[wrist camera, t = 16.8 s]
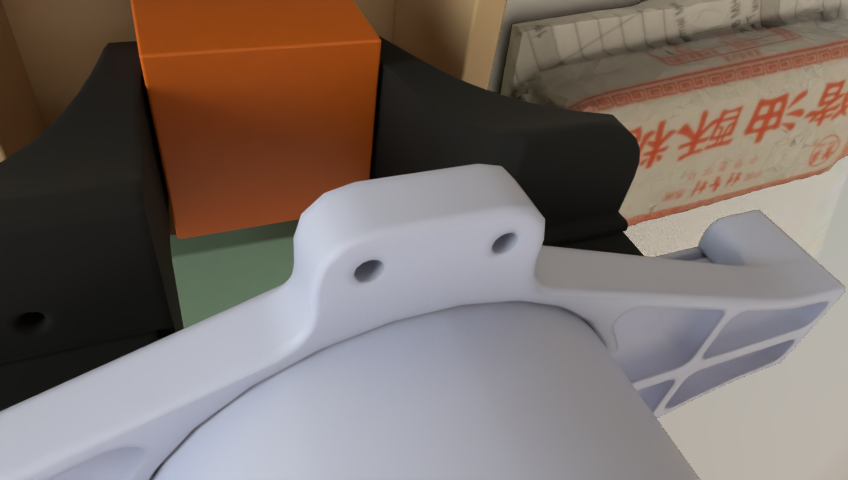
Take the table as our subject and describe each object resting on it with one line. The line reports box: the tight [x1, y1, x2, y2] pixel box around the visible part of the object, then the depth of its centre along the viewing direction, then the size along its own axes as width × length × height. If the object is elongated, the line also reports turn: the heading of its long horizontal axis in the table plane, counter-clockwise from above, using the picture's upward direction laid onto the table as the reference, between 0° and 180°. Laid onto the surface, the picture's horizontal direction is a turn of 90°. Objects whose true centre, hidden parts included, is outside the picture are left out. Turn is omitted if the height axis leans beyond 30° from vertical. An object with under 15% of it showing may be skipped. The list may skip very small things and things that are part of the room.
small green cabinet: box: [170, 219, 299, 328], centre depth 21 cm, size 14×14×8 cm
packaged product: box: [500, 0, 848, 226], centre depth 26 cm, size 18×5×10 cm
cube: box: [130, 0, 381, 239], centre depth 13 cm, size 4×4×4 cm
